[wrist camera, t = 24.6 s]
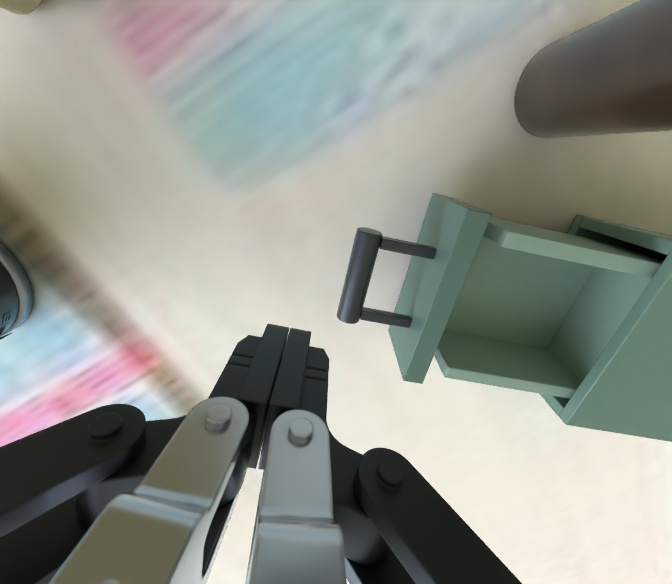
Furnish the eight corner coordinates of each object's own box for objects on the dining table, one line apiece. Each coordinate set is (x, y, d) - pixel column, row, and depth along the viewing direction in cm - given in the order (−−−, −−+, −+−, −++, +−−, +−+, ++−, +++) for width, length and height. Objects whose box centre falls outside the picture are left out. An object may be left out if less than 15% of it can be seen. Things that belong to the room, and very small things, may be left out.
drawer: (329, 319, 23) (328, 368, 18) (362, 177, 19) (372, 187, 14) (539, 357, 25) (593, 412, 19) (611, 232, 21) (705, 260, 15)
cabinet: (504, 352, 26) (565, 425, 19) (576, 214, 21) (691, 245, 14) (650, 378, 27) (757, 456, 20) (749, 253, 22) (931, 299, 15)
